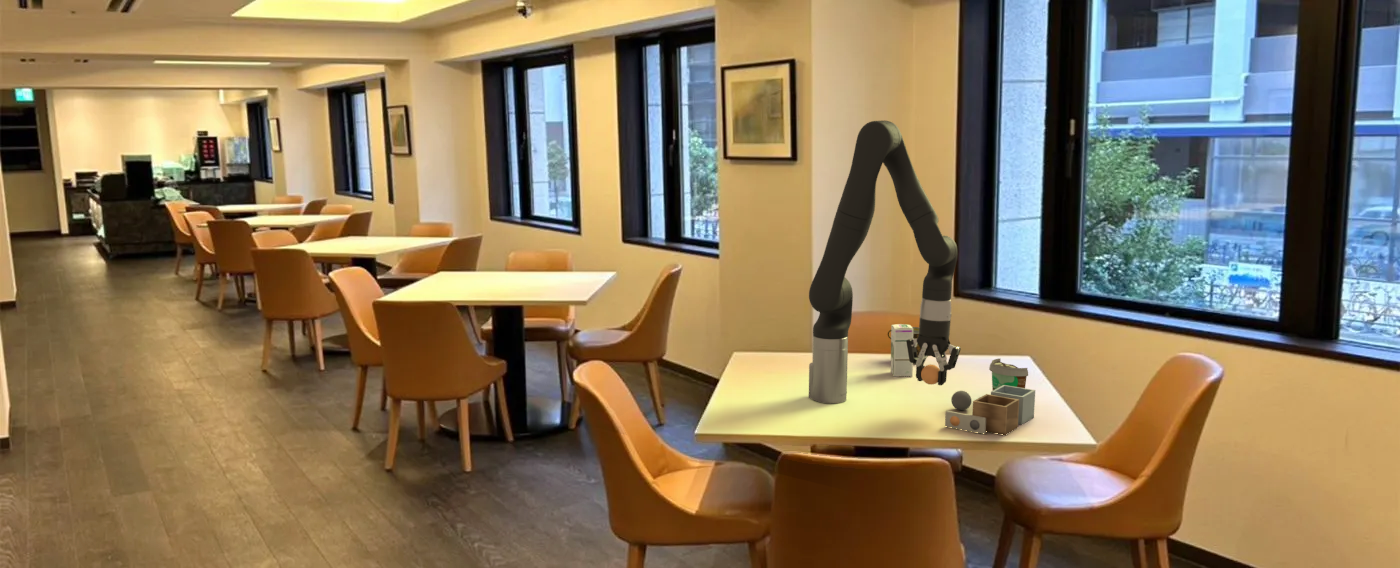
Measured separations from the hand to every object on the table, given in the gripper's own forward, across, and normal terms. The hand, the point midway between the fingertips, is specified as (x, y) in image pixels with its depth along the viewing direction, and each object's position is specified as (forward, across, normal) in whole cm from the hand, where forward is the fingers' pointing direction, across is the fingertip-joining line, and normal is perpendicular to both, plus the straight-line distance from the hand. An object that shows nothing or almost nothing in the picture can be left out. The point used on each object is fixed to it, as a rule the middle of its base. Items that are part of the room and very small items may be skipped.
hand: (930, 382), depth 255 cm
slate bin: (+8, +18, +10) cm, 22 cm away
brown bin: (+8, +18, -1) cm, 19 cm away
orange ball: (0, 0, 0) cm, 0 cm away
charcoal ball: (+8, +5, +9) cm, 13 cm away
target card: (+8, +13, -7) cm, 17 cm away
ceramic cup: (+9, -30, +49) cm, 58 cm away
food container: (+8, +10, +24) cm, 27 cm away
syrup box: (+9, -24, +33) cm, 42 cm away
